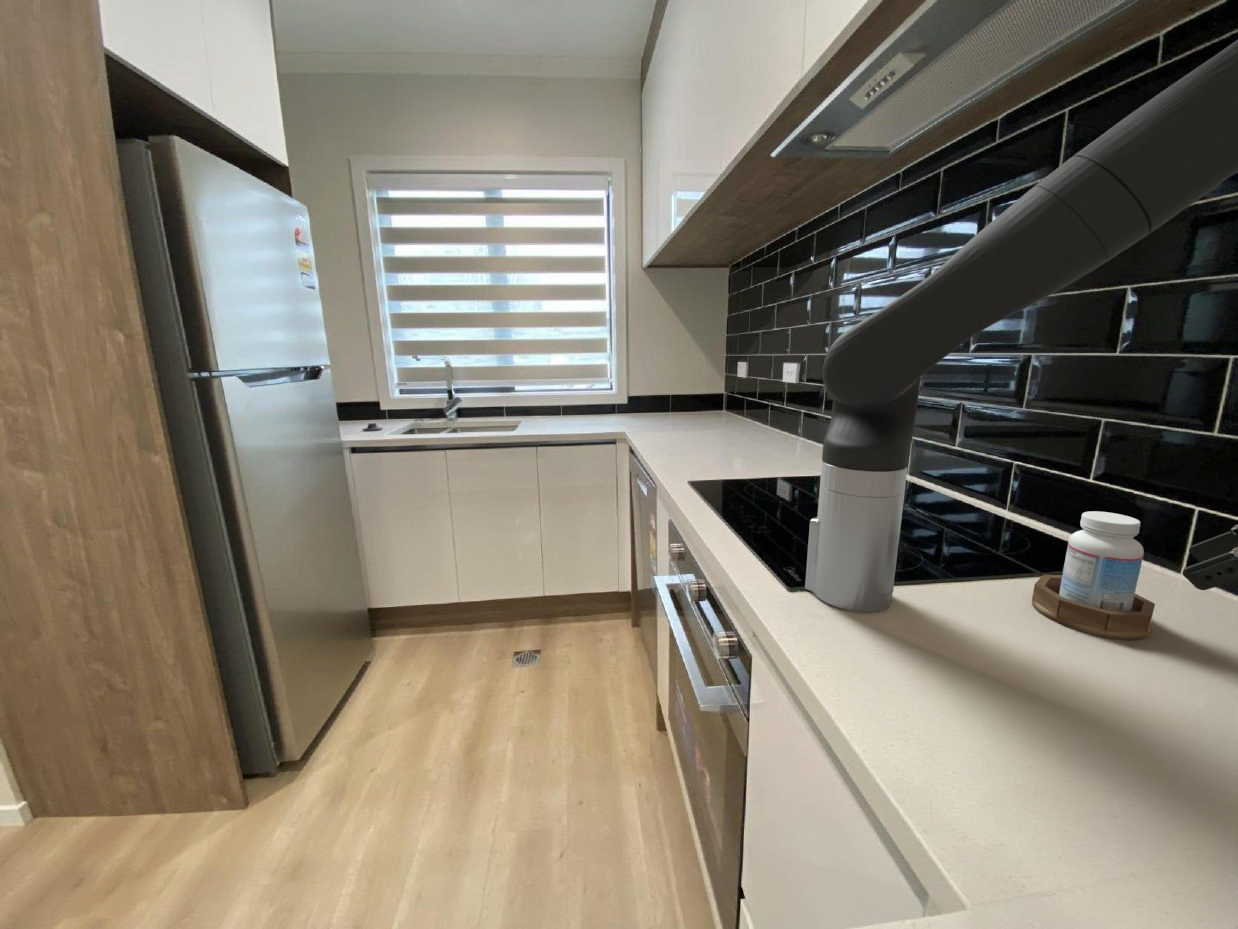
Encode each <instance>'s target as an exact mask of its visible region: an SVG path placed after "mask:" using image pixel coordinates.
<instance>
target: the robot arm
mask: <svg viewBox="0 0 1238 929" xmlns="http://www.w3.org/2000/svg"><path fill="white" fill-rule="evenodd" d="M1237 172H1238V39H1236V40H1235V41H1234V42H1232V43H1231V44H1229V45H1228V46H1227V47H1225V48H1224V49H1223V50H1221V51H1219V52H1218V53H1217V54H1215V55H1214V56H1212V57H1210V58H1209V59H1208V60H1206V61H1205V62H1203V63H1202V64H1200V65H1199V66H1197V67H1196V68H1195V69H1193V70H1192V71H1190V72H1189V73H1187V74H1185V75H1184V76H1182V77H1181V78H1180V79H1178V80H1177V81H1175V82H1173V83H1172V84H1170V86H1168V87H1167V88H1165V89H1164V90H1162V91H1160V93H1158V94H1157V95H1155V96H1154V97H1153V98H1151V99H1149V100H1148V101H1146V102H1145V103H1144V104H1142V105H1141V106H1139V107H1138V108H1136V109H1135V110H1134V111H1132V112H1131V113H1129V114H1128V115H1127V116H1126V117H1124V118H1123V119H1121V120H1120V121H1118V122H1117V123H1116V124H1115V125H1113V126H1112V127H1110V128H1109V129H1108V130H1106V131H1105V132H1104V133H1102V134H1101V135H1100V136H1098V137H1097V138H1096V139H1094V140H1093V141H1091V142H1090V143H1089V144H1087V145H1086V146H1085V147H1083V148H1082V149H1081V150H1079V151H1078V152H1076V153H1075V154H1074V155H1073V156H1072V157H1070V158H1069V159H1067V160H1066V161H1065V162H1063V163H1062V164H1061V165H1059V166H1058V167H1057V168H1056V169H1055V170H1053V171H1052V172H1051V173H1049V174H1048V175H1046V176H1045V178H1043V179H1042V180H1040V181H1039V182H1038V183H1036V184H1035V185H1034V186H1032V188H1031V189H1028V191H1027V192H1026V193H1024V194H1023V195H1021V197H1020V198H1018V199H1017V200H1015V202H1013V203H1012V204H1010V205H1009V207H1007V208H1006V209H1005V210H1004V211H1003V212H1001V214H999V215H998V216H997V217H996V218H994V219H993V220H992V221H990V223H988V224H987V225H986V226H985V227H984V228H982V229H981V230H980V231H979V232H978V233H976V234H975V235H974V236H973V237H972V238H971V239H969V241H967V243H965V244H964V245H963V246H962V247H961V248H960V249H959V250H958V251H957V252H955V253H954V254H953V255H952V256H951V257H950V258H949V259H948V260H946V261H945V263H943V264H942V265H940V266H939V267H938V269H936V270H935V271H934V272H932V273H931V274H930V275H929V276H927V277H926V278H925V279H923V280H922V281H921V282H919V283H918V284H917V285H915V286H914V287H912V288H911V289H909V290H907V291H906V292H905V293H903V294H902V295H900V296H899V297H897V298H896V299H895V300H893V301H891V302H889V303H888V304H887V305H885V306H883V307H882V308H881V309H879V310H877V311H876V312H874V313H873V314H872V315H870V316H868V317H866V318H865V319H863V320H862V321H861V320H860V322H858V323H857V324H855V325H854V326H851V327H850V328H849V329H847V330H845V331H844V332H843V333H842V334H841V335H839V337H837V338H836V339H835V340H834V342H833V343H832V344H831V346H829V349H828V350H827V353H826V354H825V357H824V361H823V363H822V371H821V372H822V373H821V374H822V381H823V384H824V387H825V388H826V391H827V392H828V394H829V395H830V396H831V397H832V398H833V399H832V407H831V416H830V422H829V426H828V429H827V431H826V434H825V437H824V439H823V444H822V454H821V468H820V478H819V479H820V481H819V491H818V492H819V494H818V505H817V506H818V507H817V516H816V517H813V518H812V519H810V521H809V531H808V532H809V533H808V544H807V558H806V569H805V570H806V571H805V583H804V584H805V585H804V589H805V590H807V591H810V592H812V593H813V594H814V595H815V596H816V597H817V598H818V599H819V600H821V601H823V602H824V603H826V604H827V605H830V606H833V607H835V608H839V609H843V610H845V611H846V610H847V611H851V612H861V613H874V612H880V611H884V610H886V609H888V608H889V607H890V606H891V605H892V602H893V593H894V586H895V575H896V568H897V562H898V561H897V559H898V558H897V557H898V551H899V550H898V549H899V541H900V534H901V526H902V525H901V524H902V520H903V519H902V516H903V510H904V509H903V508H904V501H905V492H906V491H905V490H906V482H907V475H908V465H909V457H910V453H911V452H910V451H911V448H912V444H913V438H914V432H915V424H916V417H917V409H918V402H919V395H920V394H919V393H920V387H921V379H922V376H923V375H924V374H926V373H927V372H928V371H929V370H931V369H932V368H933V367H934V366H935V365H937V363H939V362H941V361H942V360H943V359H944V358H946V357H947V356H949V355H950V354H952V352H953V351H955V350H957V349H958V348H959V347H961V345H963V344H965V343H966V342H968V341H969V340H970V339H972V338H973V337H974V336H976V335H977V334H979V333H981V332H982V331H983V330H986V329H987V328H989V327H991V326H993V325H995V324H996V323H999V322H1000V321H1003V320H1004V319H1006V318H1009V317H1010V316H1012V315H1015V314H1016V313H1018V312H1020V311H1022V310H1024V309H1027V308H1028V307H1030V306H1032V305H1034V304H1036V303H1038V302H1040V301H1041V300H1043V299H1044V300H1045V298H1047V297H1049V296H1051V295H1053V294H1055V293H1057V292H1058V291H1060V290H1062V289H1064V288H1065V287H1067V286H1069V285H1071V284H1072V283H1074V282H1076V281H1078V280H1079V279H1081V278H1083V277H1084V276H1086V275H1088V274H1090V273H1091V272H1093V271H1094V270H1096V269H1097V268H1099V267H1101V266H1103V265H1104V264H1105V263H1107V262H1108V261H1110V260H1112V259H1113V258H1115V257H1116V256H1118V255H1119V254H1121V253H1122V252H1124V251H1125V250H1127V249H1129V248H1130V247H1132V246H1133V245H1135V244H1136V243H1138V242H1139V241H1141V240H1143V239H1144V238H1146V237H1147V236H1148V235H1150V234H1151V233H1153V232H1154V231H1155V230H1158V229H1159V228H1161V227H1162V226H1163V225H1165V224H1166V223H1167V222H1169V221H1171V219H1173V218H1175V216H1177V215H1179V214H1180V213H1181V212H1183V211H1184V210H1186V209H1187V208H1189V207H1190V206H1192V205H1193V204H1194V203H1196V202H1197V201H1198V200H1201V198H1203V197H1205V196H1206V195H1207V194H1209V193H1210V192H1212V191H1213V190H1214V189H1216V188H1217V187H1218V186H1219V185H1221V184H1222V183H1224V181H1226V180H1228V179H1229V178H1230V177H1232V176H1233V175H1234V174H1236V173H1237ZM1188 552H1189V553H1190V554H1191V555H1192V557H1194V558H1195V559H1196V561H1198V562H1197V563H1195V564H1192V565H1189V566H1187V567H1185V568H1183V570H1182V576H1184V578H1186V580H1188V581H1189V583H1191V584H1192V586H1194V588H1196V589H1197V590H1200V591H1207V590H1210V589H1213V588H1216V587H1219V586H1222V585H1226V584H1229V583H1231V582H1235V581H1237V580H1238V524H1236V525H1234V526H1233V527H1232V528H1231V529H1230V531H1227V532H1225V533H1222V534H1219V535H1216V536H1214V537H1211V538H1209V539H1206V540H1203V541H1201V542H1197V543H1196V544H1193V545H1191V546H1190V547H1189V550H1188Z"/></svg>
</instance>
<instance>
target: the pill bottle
mask: <svg viewBox="0 0 1238 929" xmlns="http://www.w3.org/2000/svg"><path fill="white" fill-rule="evenodd" d="M1080 518H1081V519H1080V520H1079V521H1080V522H1079V523H1080V527H1081V528H1082V530H1077V531H1075V532H1073V533H1072V534H1071V535H1070V536H1069V539H1068V541H1067V549H1066V554H1065V560H1064V564H1063V568H1062V581H1061V586H1060V592H1059V595H1060V596H1062V597H1063V598H1065V599H1067V600H1071V601H1074V602H1078V603H1082V604H1085V605H1089V606H1092V607H1096V608H1099V609H1103V610H1108V611H1131V608H1132V604H1133V599H1134V595H1135V594H1136V590H1137V585H1138V580H1139V576H1140V573H1141V568H1142V562H1143V558H1144V547H1143V545H1142V544H1141V543H1140V542H1139V541H1138V540H1137V539H1134V538H1135V537H1137V536H1138V534H1140V528H1141V521H1140V520H1139V519H1137V518H1134V517H1132V516H1128V515H1124V514H1120V513H1114V512H1107V511H1097V510H1095V511H1085V512H1083V513H1082V514H1081V517H1080Z"/></svg>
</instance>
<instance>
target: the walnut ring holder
mask: <svg viewBox="0 0 1238 929" xmlns="http://www.w3.org/2000/svg"><path fill="white" fill-rule="evenodd" d="M1062 575H1063V574H1062ZM1062 575H1060V574H1058V575H1057V574H1042V576H1041V577H1039V579H1038V580H1037V581H1036V582H1035V583H1034V587H1033V593H1032V598H1031V599H1032V600H1031V605H1032V607H1033V608H1034V609H1035V610H1036V612H1038V613H1039V614H1041V615H1042V616H1044V617H1045V618H1048V619H1049V620H1050V621H1053V622H1055V623H1057V624H1059V625H1062V626H1064V627H1067V628H1070V629H1072V630H1075V631H1078V632H1082V633H1086V634H1090V635H1092V636H1096V637H1097V636H1098V637H1102V638H1107V639H1113V640H1125V641H1137V640H1138V641H1139V640H1143V639H1146V638H1147V637H1149V636H1150V634H1151V631H1152V627H1153V624H1152V618H1153V615H1154V612H1155V607H1156V604H1155V603H1154V602H1153V601H1151V600H1149V599H1147V598H1144V597H1143V596H1141V595H1139V594H1137V593H1135V595H1134V599H1133V604H1132V608H1131V611H1108V610H1103V609H1099V608H1096V607H1092V606H1089V605H1085V604H1082V603H1078V602H1074V601H1071V600H1067V599H1065V598H1063V597H1062V596H1060V595H1059V592H1060V586H1061V581H1062Z"/></svg>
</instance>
